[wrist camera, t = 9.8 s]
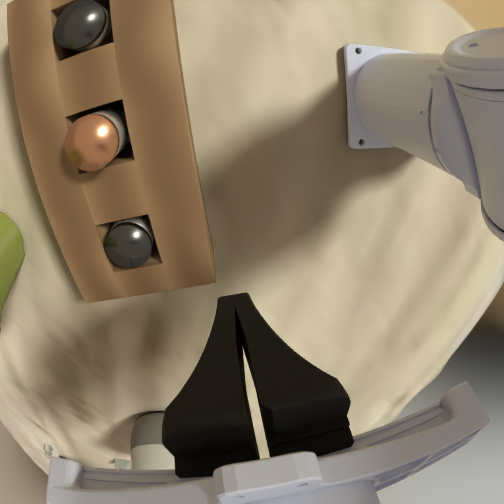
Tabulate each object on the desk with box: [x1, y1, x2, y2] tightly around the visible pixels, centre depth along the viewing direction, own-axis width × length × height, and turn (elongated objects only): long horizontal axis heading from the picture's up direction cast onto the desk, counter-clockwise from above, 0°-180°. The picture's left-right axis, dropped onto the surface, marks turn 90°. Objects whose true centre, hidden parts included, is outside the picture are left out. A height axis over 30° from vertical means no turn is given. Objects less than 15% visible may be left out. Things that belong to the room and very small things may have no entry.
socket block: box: [7, 0, 216, 303], centre depth 16 cm, size 10×22×4 cm, turn 6°
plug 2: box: [105, 214, 155, 268], centre depth 20 cm, size 3×3×4 cm
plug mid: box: [65, 108, 130, 171], centre depth 15 cm, size 3×3×4 cm
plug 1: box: [54, 0, 114, 52], centre depth 12 cm, size 3×3×4 cm
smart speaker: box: [131, 412, 175, 470], centre depth 32 cm, size 10×9×14 cm
